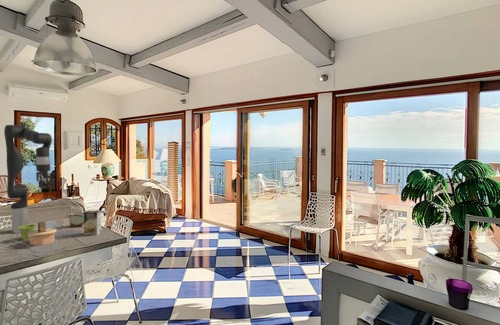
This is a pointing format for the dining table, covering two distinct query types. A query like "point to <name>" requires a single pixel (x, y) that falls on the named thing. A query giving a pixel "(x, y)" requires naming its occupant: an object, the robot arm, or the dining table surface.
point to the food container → (76, 219)
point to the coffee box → (92, 222)
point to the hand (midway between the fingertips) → (44, 188)
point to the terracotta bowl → (42, 239)
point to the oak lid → (41, 231)
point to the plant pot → (26, 230)
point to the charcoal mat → (67, 234)
